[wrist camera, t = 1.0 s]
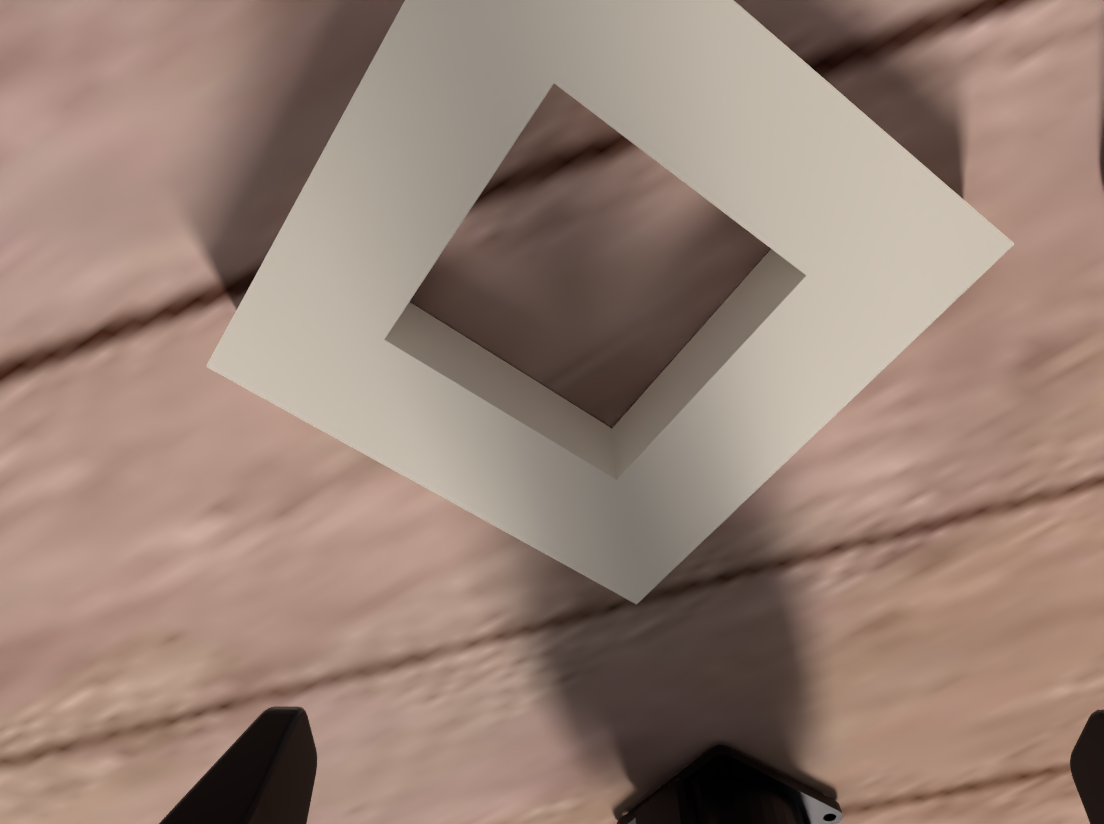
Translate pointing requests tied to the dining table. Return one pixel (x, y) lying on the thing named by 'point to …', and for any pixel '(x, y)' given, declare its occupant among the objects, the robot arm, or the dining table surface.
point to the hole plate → (707, 359)
